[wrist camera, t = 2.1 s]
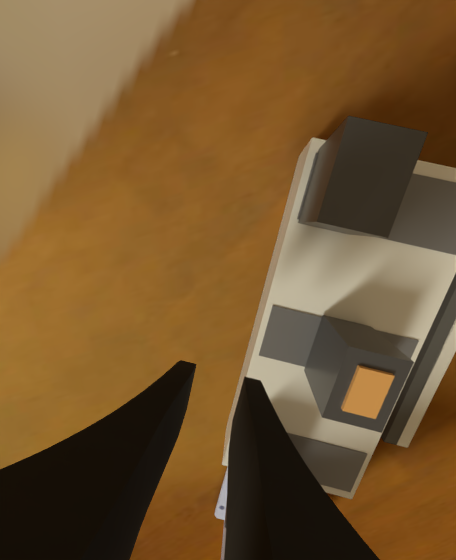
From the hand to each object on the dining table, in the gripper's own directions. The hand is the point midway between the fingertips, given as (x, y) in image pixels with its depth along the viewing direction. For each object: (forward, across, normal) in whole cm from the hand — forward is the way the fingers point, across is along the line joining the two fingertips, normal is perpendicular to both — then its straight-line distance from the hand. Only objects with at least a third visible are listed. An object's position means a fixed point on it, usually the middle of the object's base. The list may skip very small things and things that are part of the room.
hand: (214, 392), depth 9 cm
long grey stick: (+10, -15, 0) cm, 18 cm away
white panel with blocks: (+10, -7, 0) cm, 13 cm away
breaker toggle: (+7, -7, 0) cm, 10 cm away
